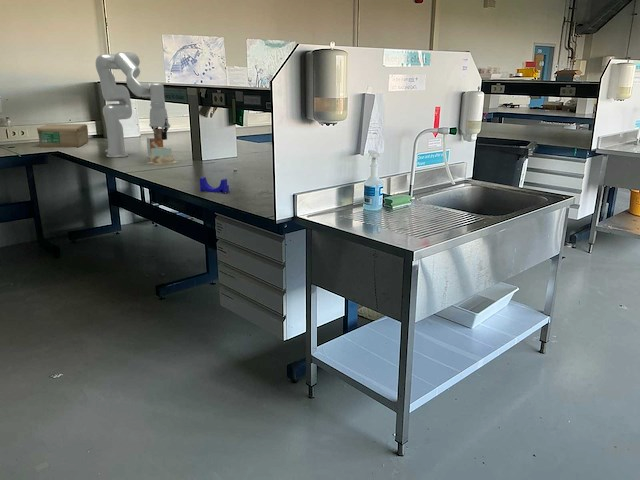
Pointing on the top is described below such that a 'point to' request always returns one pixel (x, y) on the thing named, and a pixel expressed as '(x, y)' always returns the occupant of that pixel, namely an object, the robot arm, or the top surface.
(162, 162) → the tower base
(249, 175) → the top surface
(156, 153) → the tower top
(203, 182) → the blue cradle block
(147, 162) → the cork mat
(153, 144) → the small box
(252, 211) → the top surface
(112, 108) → the robot arm
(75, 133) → the paper package
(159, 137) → the walnut block
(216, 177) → the top surface
